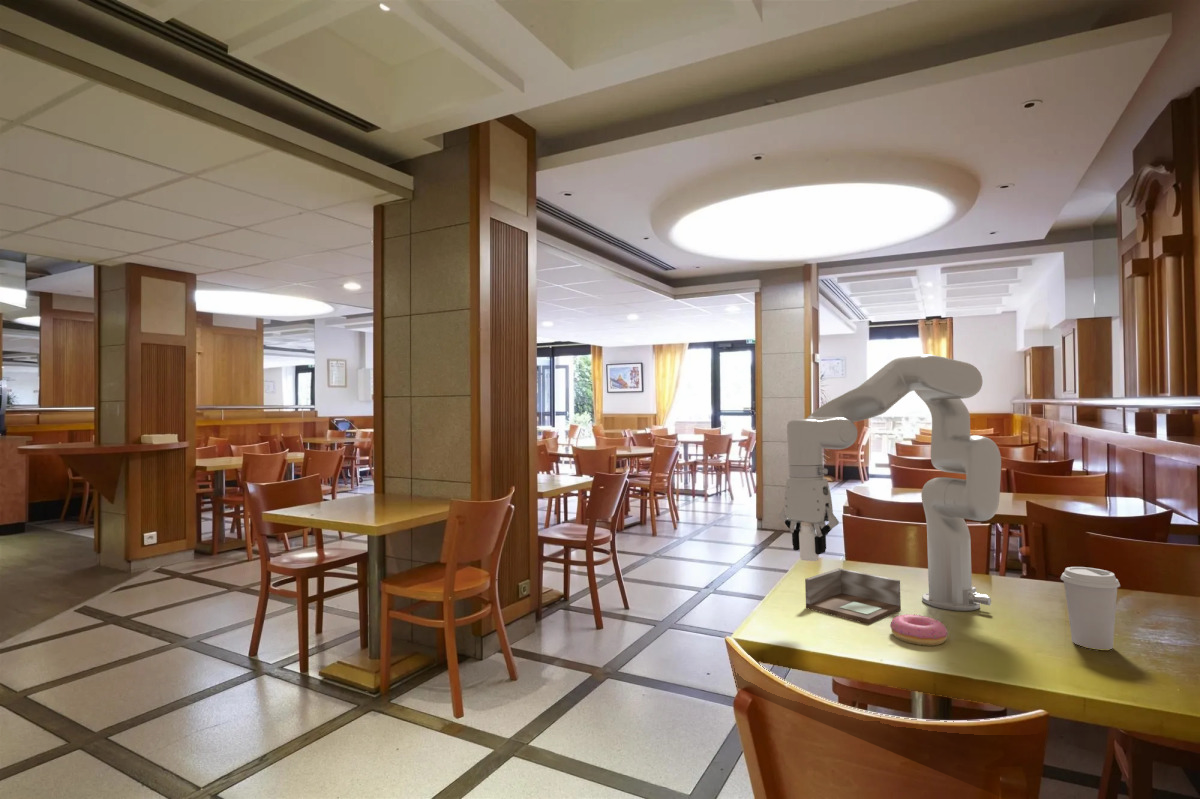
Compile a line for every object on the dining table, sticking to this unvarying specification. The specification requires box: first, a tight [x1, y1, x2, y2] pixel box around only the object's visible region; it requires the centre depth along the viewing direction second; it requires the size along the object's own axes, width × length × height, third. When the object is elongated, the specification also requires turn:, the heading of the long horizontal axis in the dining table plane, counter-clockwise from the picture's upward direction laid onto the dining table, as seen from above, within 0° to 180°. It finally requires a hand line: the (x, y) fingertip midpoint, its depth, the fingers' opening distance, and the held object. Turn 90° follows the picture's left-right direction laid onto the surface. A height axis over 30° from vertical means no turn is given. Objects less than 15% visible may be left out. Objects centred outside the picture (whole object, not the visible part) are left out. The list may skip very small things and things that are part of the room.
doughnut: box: [889, 614, 948, 647], centre depth 130 cm, size 11×11×4 cm
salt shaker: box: [799, 522, 820, 562], centre depth 140 cm, size 4×4×10 cm
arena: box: [804, 568, 902, 625], centre depth 150 cm, size 16×16×7 cm
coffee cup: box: [1060, 566, 1121, 650], centre depth 125 cm, size 10×10×15 cm
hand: (809, 550), depth 140 cm, fingers closed on salt shaker, 5 cm apart
